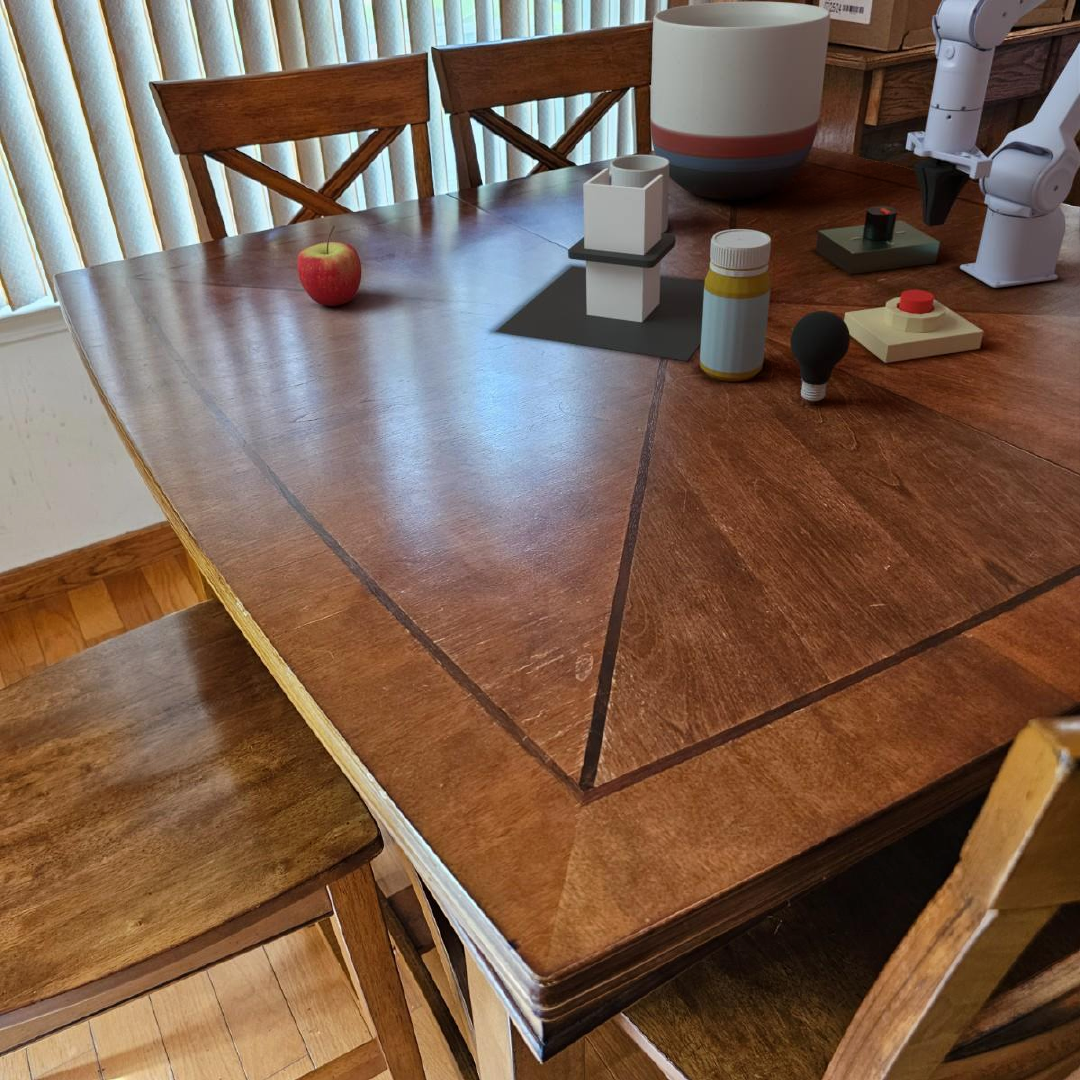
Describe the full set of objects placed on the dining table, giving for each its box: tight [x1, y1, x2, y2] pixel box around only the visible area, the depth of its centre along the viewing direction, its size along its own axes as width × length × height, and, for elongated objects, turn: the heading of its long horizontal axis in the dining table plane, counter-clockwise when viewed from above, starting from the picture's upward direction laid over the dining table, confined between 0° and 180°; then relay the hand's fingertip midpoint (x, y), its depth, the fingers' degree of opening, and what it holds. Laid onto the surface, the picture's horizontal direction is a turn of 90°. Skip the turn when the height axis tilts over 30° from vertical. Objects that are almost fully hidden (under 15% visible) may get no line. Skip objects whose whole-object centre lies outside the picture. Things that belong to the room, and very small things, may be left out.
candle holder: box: [495, 167, 705, 362], centre depth 123 cm, size 25×24×16 cm
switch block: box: [843, 296, 984, 364], centre depth 115 cm, size 12×10×4 cm
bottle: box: [699, 228, 772, 382], centre depth 107 cm, size 7×7×15 cm
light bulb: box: [789, 310, 851, 404], centre depth 102 cm, size 6×6×10 cm
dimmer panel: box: [815, 219, 941, 276], centre depth 138 cm, size 13×10×3 cm
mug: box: [609, 154, 670, 233], centre depth 150 cm, size 11×10×10 cm
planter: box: [649, 1, 831, 201], centre depth 159 cm, size 27×27×27 cm
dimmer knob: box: [863, 205, 898, 240], centre depth 136 cm, size 4×4×4 cm
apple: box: [296, 224, 362, 307], centre depth 130 cm, size 8×8×10 cm
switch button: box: [899, 289, 935, 314], centre depth 114 cm, size 4×4×2 cm
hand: (933, 223), depth 121 cm, fingers closed
